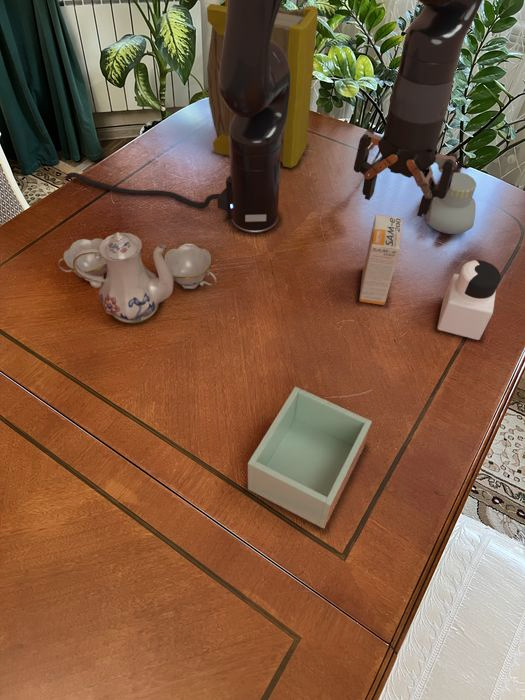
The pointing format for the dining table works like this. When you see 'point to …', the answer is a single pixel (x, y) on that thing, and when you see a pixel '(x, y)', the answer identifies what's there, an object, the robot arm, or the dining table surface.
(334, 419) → the holder
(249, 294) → the dining table surface
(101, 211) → the dining table surface
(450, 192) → the air freshener
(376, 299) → the supplement box
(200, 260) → the chinaware
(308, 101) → the decorative book
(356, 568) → the dining table surface
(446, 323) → the bust figurine
